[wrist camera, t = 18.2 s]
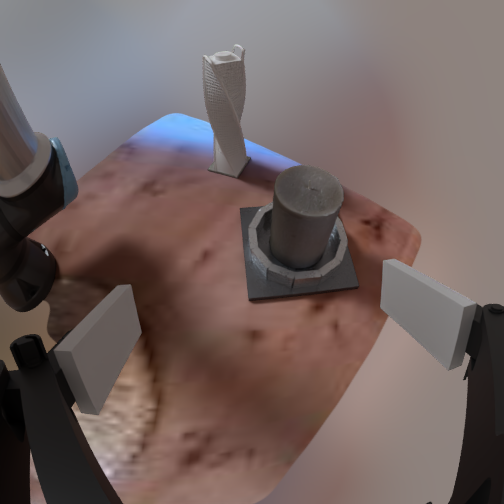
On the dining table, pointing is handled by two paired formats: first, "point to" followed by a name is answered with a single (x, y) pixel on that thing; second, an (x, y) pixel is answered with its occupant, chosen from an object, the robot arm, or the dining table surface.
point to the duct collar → (288, 278)
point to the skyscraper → (226, 110)
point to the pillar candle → (303, 214)
